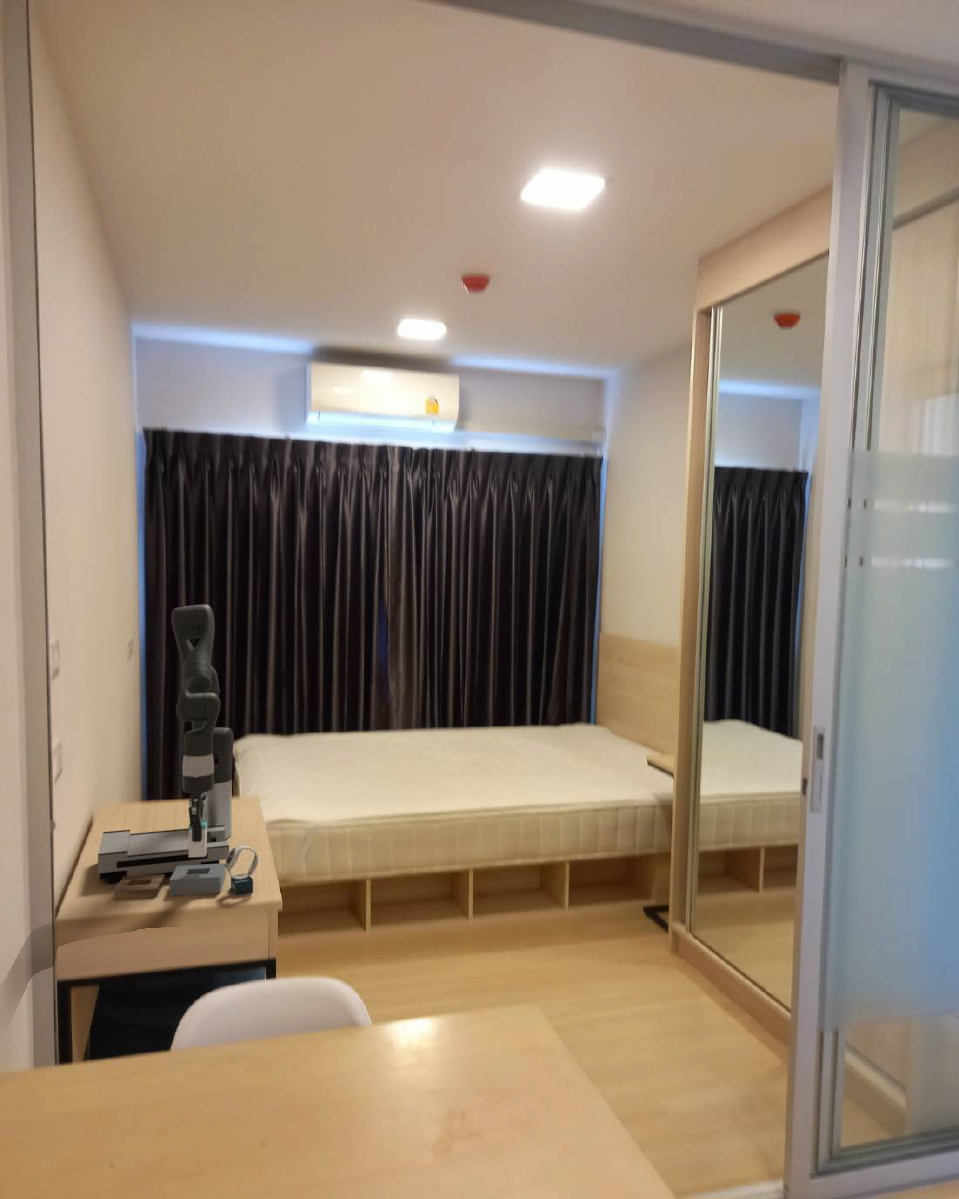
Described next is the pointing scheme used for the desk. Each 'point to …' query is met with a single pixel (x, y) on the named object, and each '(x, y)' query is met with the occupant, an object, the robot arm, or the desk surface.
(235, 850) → the watch
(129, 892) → the brown flat square frame
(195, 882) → the port block
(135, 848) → the game console
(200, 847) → the plug
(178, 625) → the robot arm
